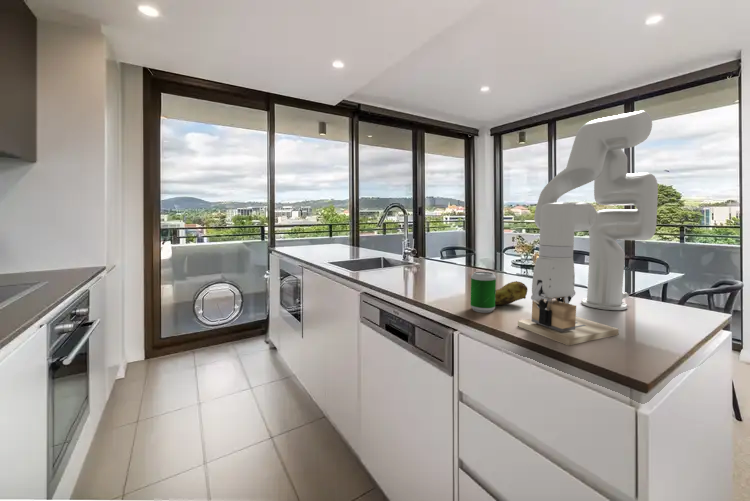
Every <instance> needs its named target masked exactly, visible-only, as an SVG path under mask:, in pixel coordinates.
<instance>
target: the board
mask: <svg viewBox="0 0 750 501" xmlns="http://www.w3.org/2000/svg"><path fill="white" fill-rule="evenodd" d="M518 326H519V328H521V329H524V330H527V331H530V332H531V333H534V334H537V335H540V336H542V337H545V338H548V339H550V340H552V341H556V342H558V343H561V344H563V345H566V346H573V345H576V344H578V345H579V344H582V343H586V342H591V341H595V340H599V339H600V340H601V339H604V338H609V337H613V336H618V335H619V334H620V332H619V330H620V329H619V328H617V327H613V326H610V325H607V324H604V323H599V322H596V321H593V320H590V319H586V318H583V317H579V316H576V320H575V330H570V331H565V332H560V331H557V330H555V329H552V328H549V327H546V326H543V325H540V324H537V323H535V322H532V318H528V319H522V320H521V319H520V320H517V327H518Z"/></svg>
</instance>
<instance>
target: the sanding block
mask: <svg viewBox="0 0 750 501" xmlns="http://www.w3.org/2000/svg"><path fill="white" fill-rule="evenodd" d="M531 300H532V299H531ZM546 301H547V300H545V299H544V302H545V303H546ZM531 303H532V306H531V319H532V322H535V323H537V324H540V323H539V308H538V305H537V304H536V303H535V302H534V301H533V300H532V302H531ZM550 310H551V311H552V318H551V326H546V325H543V324H540V325H543V326H546V327H549V328H552V329H555V330H557V331H560V332H565V331H570V330H575V320H576V317H577V316H576V315H577V305H574V304H571V303H569V304H568V303H564V302H560V301H556V299H552V303H551V307H550Z"/></svg>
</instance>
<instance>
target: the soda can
mask: <svg viewBox="0 0 750 501" xmlns="http://www.w3.org/2000/svg"><path fill="white" fill-rule="evenodd" d="M496 288H497V275H495V274H494V273H493V272H489V271H474V272H473V273H472V274H471V275H470V308H471V309H472V310H473V311H474V312H476V313H480V314H481V313H484V314H487V313H489V314H490V313H492V312H493V310H495V309H496V305H495V293H496V290H497V289H496Z"/></svg>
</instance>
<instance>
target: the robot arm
mask: <svg viewBox="0 0 750 501" xmlns="http://www.w3.org/2000/svg"><path fill="white" fill-rule="evenodd" d="M652 120H653V119H652V116H651V115H650V113H648V111H645V110H639V111H638V110H637V111H633V112H627V113H621V114H618V115H612V116H606V117H602V118H597V119H593V120H590V121H587V122H586V123H584V124H583V125H582V126H581V127H580V128H579V129H578V130H577V132H576V135H575V137H574V140H573V144H572V148H571V151H570V155H569V158H568V160H567V163H566V167H565V168H564V169H562V170H561V171H560V172H559V173H558V174H556V175H555V176H554V177H553V178H552V179H551V180H550V181H549V182H548V183H546V185H544V187H543V189H542V190H541V192H540V194H539V196H538V200H537V203H536V206H535V209H534V219H533V220H534V224H535V226H536V227H537V228H538V229H539V247H538V257H536V260H535V264H534V268H533V274H532V282H531V283H532V284H531V296H530V299H531V300H533V301H534V302H535V303H536V304H537V305H538V308H539V323H540V324H543V325H546V326H551V318H552V311H551V310H550V307H551V303H552V300H556V301H560V302H564V303H568V304H570V302H571V301H572V298H574V296H575V295H576V291H575V280H576V279H575V277H576V276H575V274H576V272H575V263H574V248H575V247H574V244H575V232H586V231H588V238H589V257H588V258H589V260H588V273H587V274H588V276H587V291H586V297H584V298H581V302H580V303H581V304H582V305H584V306H585V307H589V308H593V309H598V310H605V311H625V310H627V309H628V304H627V303H625V302H623V299H628V298H630V295H629V293H628V292H623V286H624V270H625V258H626V256H625V251H624V249H623V248H622V246H621V245H620V244H619V243H618V242H617V241H620V240H621V241H647V240H650V239H652V238H653V237H654V235H655V233H656V230H657V219H658V218H657V215H658V201H659V200H658V199H659V198H658V197H659V195H658V194H659V188H658V187H659V186H658V184H659V183H658V181H657V178H656V176H655V175H654V174H652V173H650V172H638V173H637V172H634V173H628V156H627V155H626V153H625V152H624V151H623V150H622V149H628V148H629V149H630V148H634V147H636V146H638V145H640V144H642V143H643V142H645V141H646V140H647V139H648V138H649V137H650V135H651V132H652V128H653V121H652ZM593 181H594V182H593ZM591 182H593V183H594V184H593V186H594V187H593V192H594V193H593V196H594V201H595V203H597V204H598V205H600V206H635V207H636V208H635V209H632V208H631V209H619V208H618V209H601V210H596V207H594V206H593V204H591V203H588V202H583V201H577V202H576V201H574V202H573V201H571V202H569V201H564V202H557V201H558V200H559V198H561V197H562V196H563V195H565V194H567V193H569V192H570V191H572V190H576V189H578V188H580V187H582V186H585V185H587V184H589V183H591ZM544 299H545V300H547V301H546V303H545V302H544Z"/></svg>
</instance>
